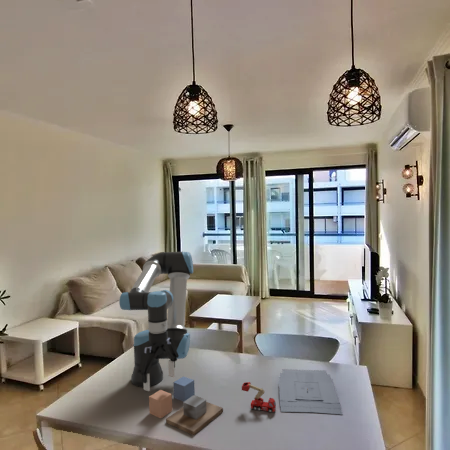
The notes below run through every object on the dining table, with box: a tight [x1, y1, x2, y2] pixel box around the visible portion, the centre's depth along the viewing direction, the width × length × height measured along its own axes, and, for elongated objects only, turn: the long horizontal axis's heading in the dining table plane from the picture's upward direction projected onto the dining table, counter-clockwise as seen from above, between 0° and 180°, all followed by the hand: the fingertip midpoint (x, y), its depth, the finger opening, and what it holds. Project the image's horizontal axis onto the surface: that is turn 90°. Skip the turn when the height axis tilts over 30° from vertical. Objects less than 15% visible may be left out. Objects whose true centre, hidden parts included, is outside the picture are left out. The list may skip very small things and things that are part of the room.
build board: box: [165, 395, 224, 436], centre depth 138 cm, size 14×18×6 cm
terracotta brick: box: [148, 389, 173, 419], centre depth 142 cm, size 6×6×7 cm
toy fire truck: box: [241, 381, 277, 413], centre depth 142 cm, size 3×14×10 cm, turn 71°
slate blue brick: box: [172, 375, 196, 403], centre depth 153 cm, size 6×6×7 cm
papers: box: [278, 368, 343, 415], centre depth 153 cm, size 24×30×4 cm
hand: (159, 383), depth 141 cm, fingers open, 13 cm apart
